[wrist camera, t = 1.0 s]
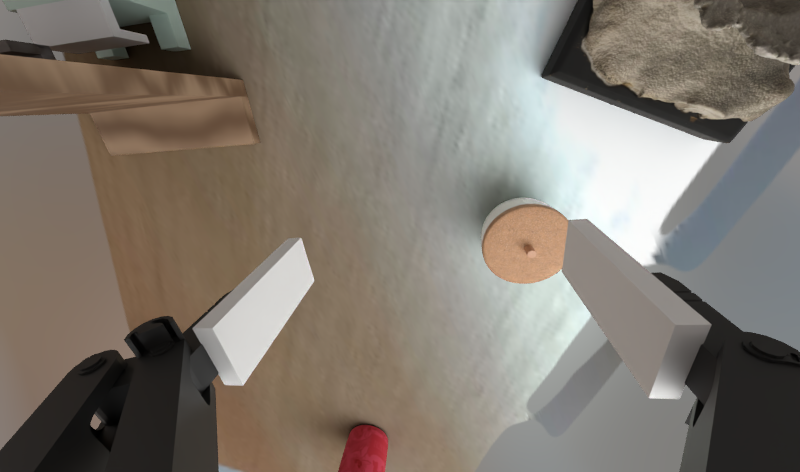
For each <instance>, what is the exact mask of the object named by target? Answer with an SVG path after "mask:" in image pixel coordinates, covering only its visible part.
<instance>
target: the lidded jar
mask: <svg viewBox="0 0 800 472" xmlns="http://www.w3.org/2000/svg"><path fill="white" fill-rule="evenodd" d="M567 228H568V220H567V219H566V218H565V216H564V215H562V214H561V213H560V212H558V211H557V210H555V209H554V208H553V207H551V206H550V205H548V204H546V203H544V202H542V201H539V200H536V199H532V198H515V199H511V200H508V201H505V202H503V203H501V204H500V205H498V206H497V207H495V208H494V209H493V210H492V211H491V212H490V213H489V215H488V216H487V218H486V219H485V221H484V224H483V227H482V231H481V245H482V253H483V257H484V260H485V262H486V264H487V266H488V267H489V269H490V270H491V271H492V272H493V273H494V274H495V275H497V276H498V277H500V278H502V279H504V280H506V281H509V282H513V283H534V282H538V281H542V280H544V279H547V278H549V277H551V276H553V275H554V274H556V273H557V272H559V271H560V270H561V269H562V266H563V258H564V251H565V243H566V235H567Z"/></svg>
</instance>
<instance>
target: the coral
mask: <svg viewBox="0 0 800 472" xmlns="http://www.w3.org/2000/svg"><path fill="white" fill-rule="evenodd" d="M795 65H800V0H578V2H577V4H576V6H575V8H574V10H573V12H572V14H571V16H570V18H569V20H568V22H567V25H566V26H565V28H564V30H563V33H562V35H561V37H560V39H559V41H558V43H557V45H556V47H555V49H554V51H553V53H552V55H551V57H550V59H549V61H548V63H547V65H546V67H545V69H544V71H543V73H542V76H541V77H542V78H544V79H546V80H549V81H552V82H554V83H557V84H559V85H562V86H565V87H568V88H570V89H573V90H575V91H578V92H581V93H583V94H586V95H589V96H591V97H594V98H597V99H599V100H602V101H604V102H607V103H609V104H611V105H615V106H618V107H620V108H623V109H625V110H628V111H631V112H633V113H636V114H639V115H641V116H644V117H647V118H649V119H652V120H654V121H657V122H660V123H662V124H665V125H668V126H670V127H673V128H675V129H678V130H681V131H684V132H686V133H689V134H691V135H694V136H697V137H699V138H702V139H705V140H711V141H717V142H722V143H730V142H731V141H732V140H733V139H734V137H735V136H736V135H737V134H738V133H739V132H740V131H741V129H742V128H743V127H744V126H745V125H746V123H747V122H748V121H753V120H754V119H756V118H758V117H760V116H761V115H762V114H764V113H765V112H766V111H768V110H769V109H770V108H772V107H773V106H775V105H777V104H779V103H780V102H782V101H784V100H785V99H786V98H788V97H789V96H790V95H791V94H792V93H793V91H794V83H793V81H792V80H791V79H789V72H790V71H791V70H792V69H793V67H794V66H795Z"/></svg>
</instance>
